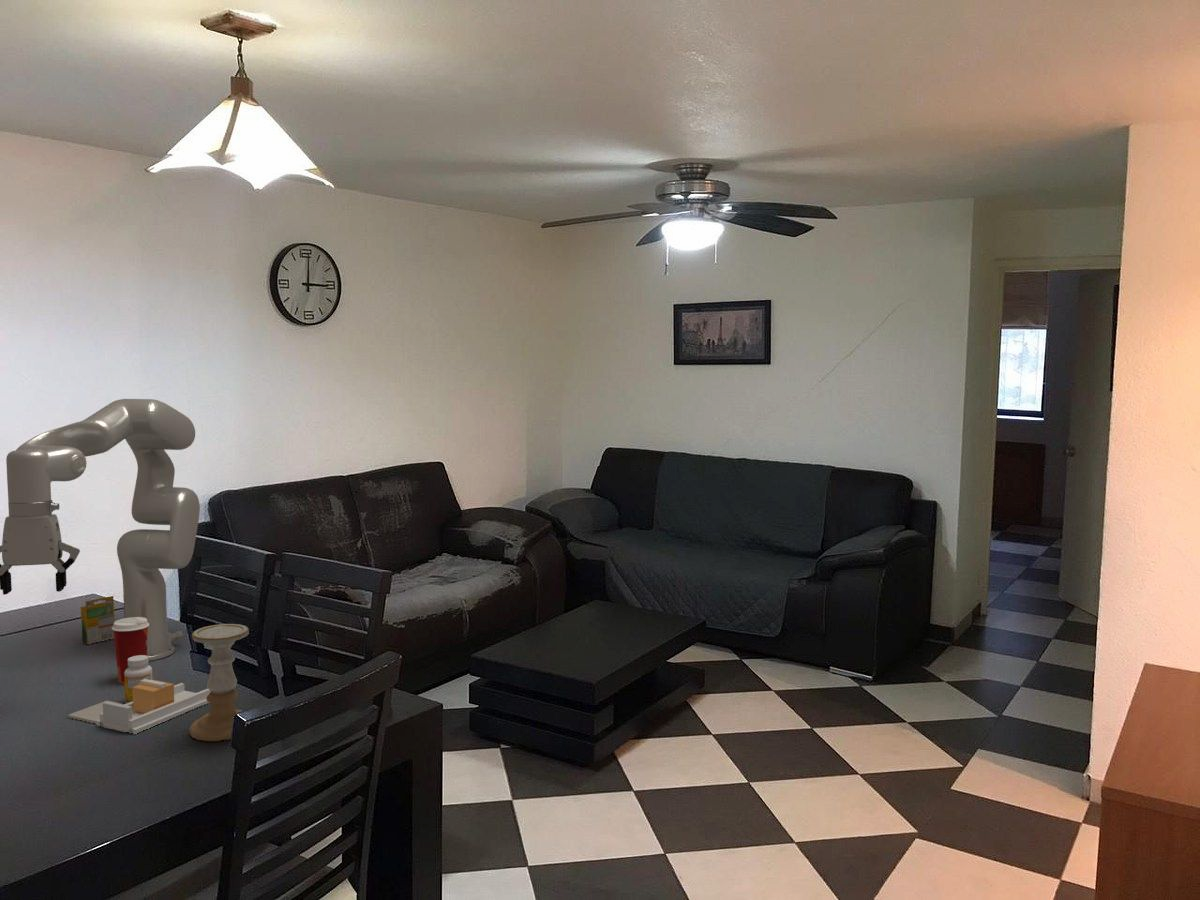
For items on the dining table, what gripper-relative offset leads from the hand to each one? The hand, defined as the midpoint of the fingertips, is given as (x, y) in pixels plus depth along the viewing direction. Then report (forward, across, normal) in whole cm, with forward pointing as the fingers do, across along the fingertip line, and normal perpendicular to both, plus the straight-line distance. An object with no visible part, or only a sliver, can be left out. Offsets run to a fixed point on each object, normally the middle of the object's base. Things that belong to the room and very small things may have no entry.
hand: (34, 591), depth 190 cm
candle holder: (+26, -38, +21) cm, 50 cm away
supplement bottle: (+26, -19, 0) cm, 32 cm away
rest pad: (+25, -13, +6) cm, 29 cm away
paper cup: (+26, -15, -15) cm, 33 cm away
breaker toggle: (+24, -23, +9) cm, 35 cm away
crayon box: (+26, -1, -51) cm, 57 cm away
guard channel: (+25, -24, +8) cm, 36 cm away
